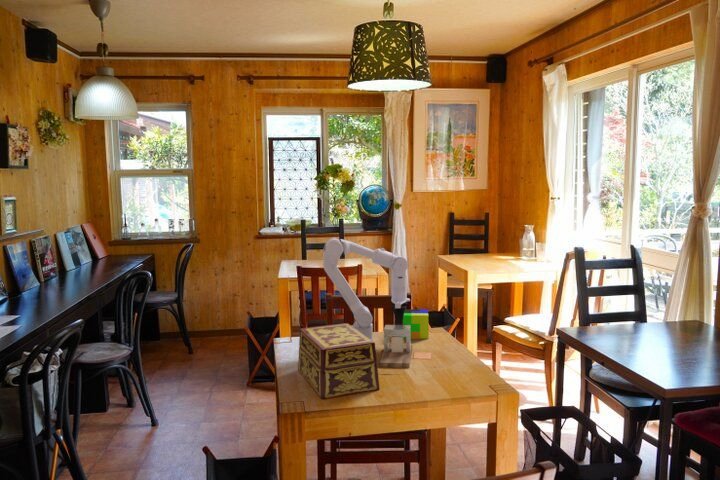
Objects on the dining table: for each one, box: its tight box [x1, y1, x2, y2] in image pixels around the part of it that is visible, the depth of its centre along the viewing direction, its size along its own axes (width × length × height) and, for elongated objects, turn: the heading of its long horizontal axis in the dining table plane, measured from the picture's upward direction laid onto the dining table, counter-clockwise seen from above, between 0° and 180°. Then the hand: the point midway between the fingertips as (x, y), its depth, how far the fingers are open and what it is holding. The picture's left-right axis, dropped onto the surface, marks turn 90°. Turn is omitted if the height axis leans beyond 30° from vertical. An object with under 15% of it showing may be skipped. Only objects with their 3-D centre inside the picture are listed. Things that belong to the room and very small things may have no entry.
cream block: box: [390, 336, 404, 352], centre depth 201 cm, size 4×4×7 cm
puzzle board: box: [379, 344, 413, 369], centre depth 197 cm, size 10×20×2 cm, turn 172°
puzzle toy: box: [402, 308, 430, 340], centre depth 225 cm, size 10×10×10 cm
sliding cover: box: [383, 324, 412, 353], centre depth 201 cm, size 9×6×8 cm, turn 82°
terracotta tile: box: [413, 351, 432, 360], centre depth 199 cm, size 6×7×1 cm
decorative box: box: [297, 322, 380, 401], centre depth 178 cm, size 28×19×15 cm
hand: (399, 322), depth 211 cm, fingers open, 3 cm apart
